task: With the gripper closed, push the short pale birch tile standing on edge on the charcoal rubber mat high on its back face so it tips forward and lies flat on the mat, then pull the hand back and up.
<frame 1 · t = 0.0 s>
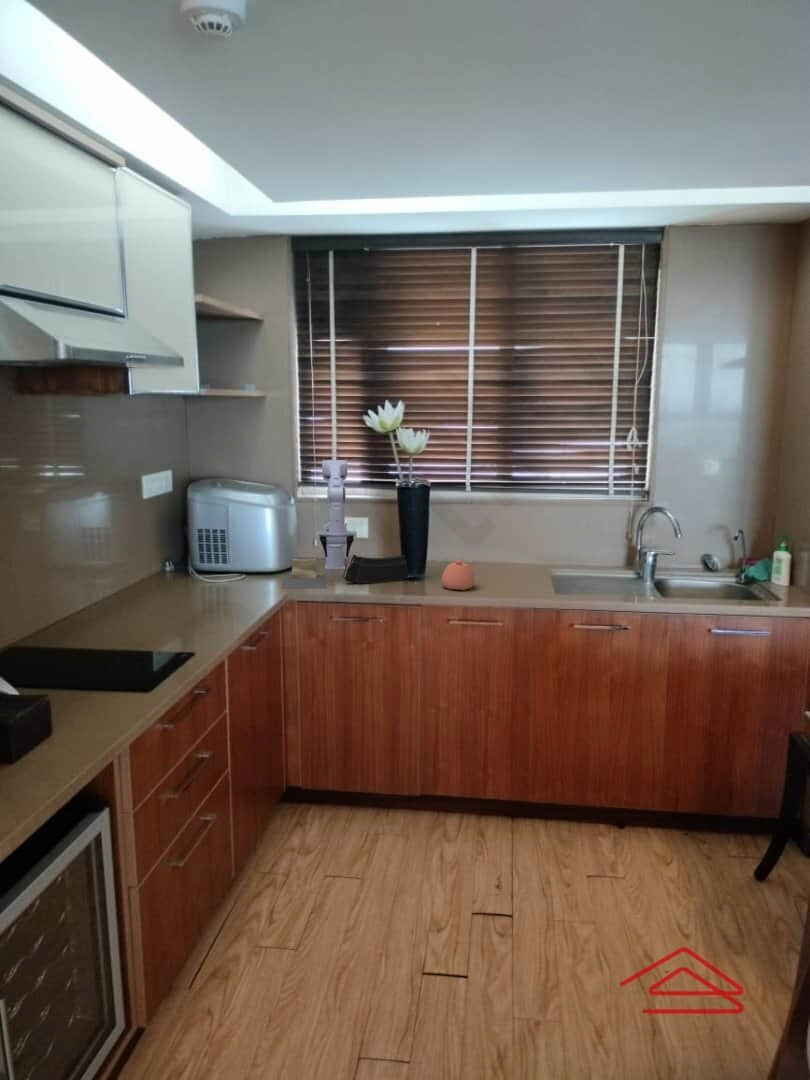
hand: (336, 556, 273), 10 cm above the worktop, tool pointing down, fingers open, 7 cm apart
sugar bowl: (458, 588, 272), on the worktop
magazine: (382, 582, 279), on the worktop
mat: (304, 582, 277), on the worktop
tile: (304, 577, 282), resting on mat
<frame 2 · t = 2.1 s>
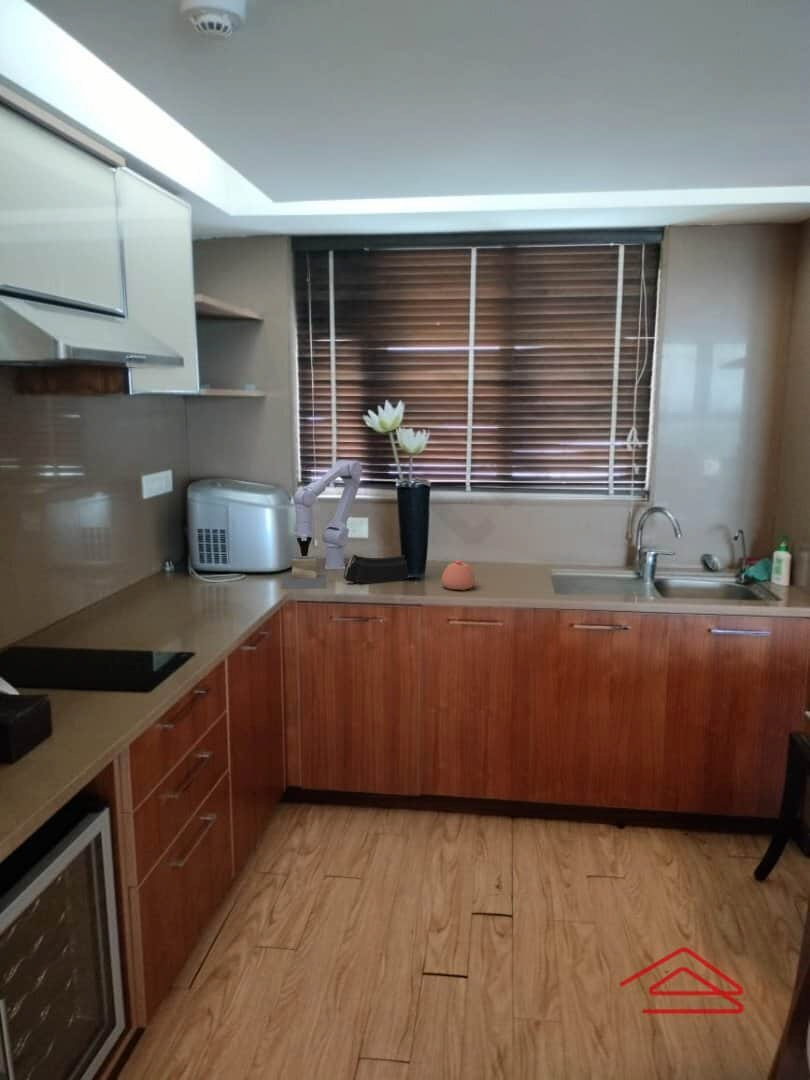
hand: (304, 556, 290), 7 cm above the worktop, tool pointing down, fingers closed
nothing on the worktop moved.
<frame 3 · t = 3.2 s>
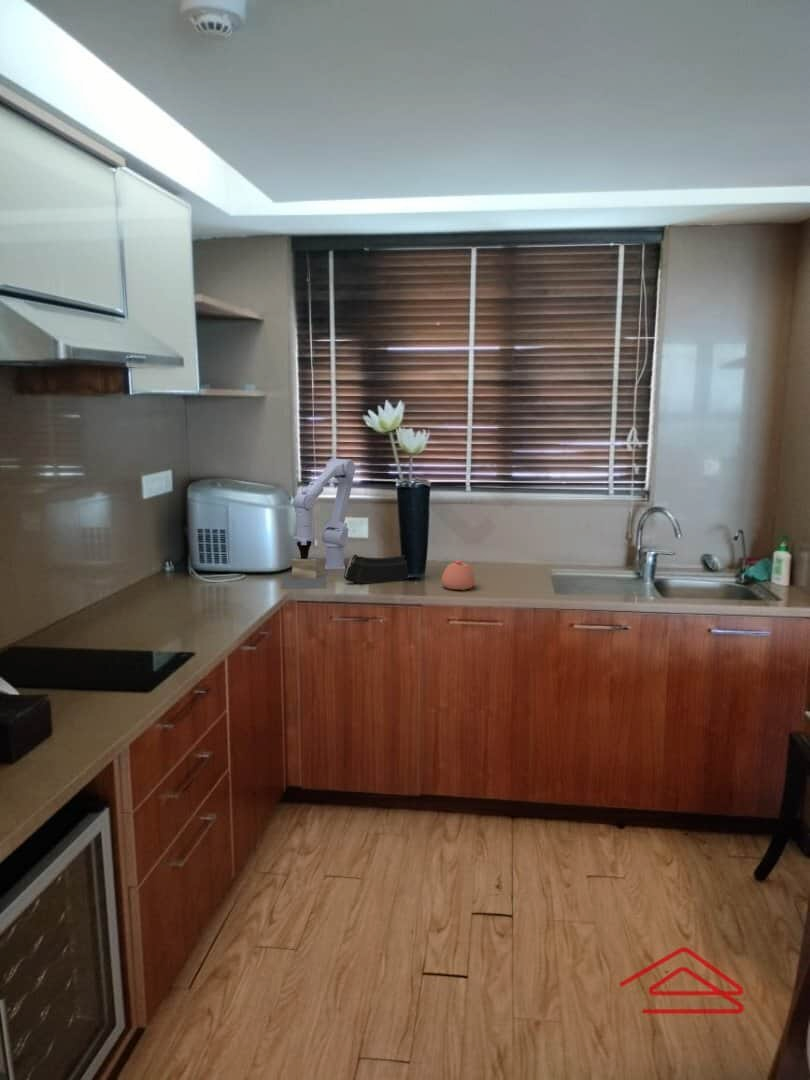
hand: (304, 560, 287), 6 cm above the worktop, tool pointing down, fingers closed
nothing on the worktop moved.
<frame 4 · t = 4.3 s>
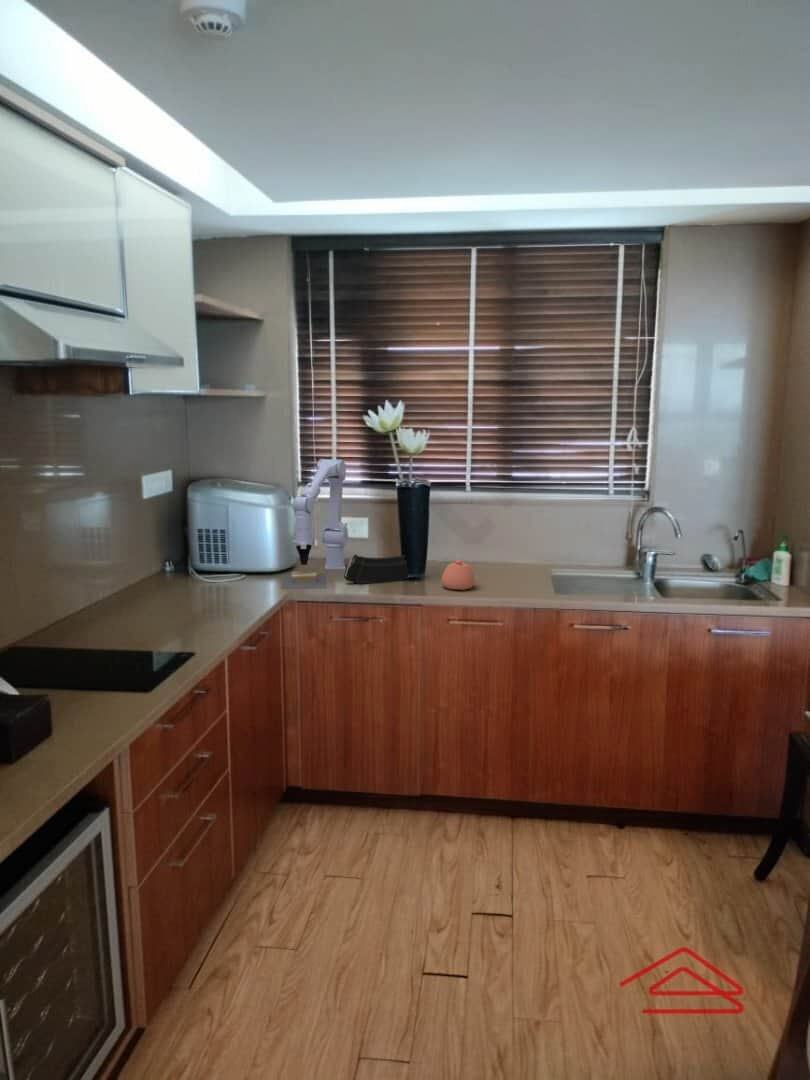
hand: (304, 564, 279), 6 cm above the worktop, tool pointing down, fingers closed
tile: (304, 575, 281), point 2 cm above the worktop, tilted 90°, touching mat
everything else where it was.
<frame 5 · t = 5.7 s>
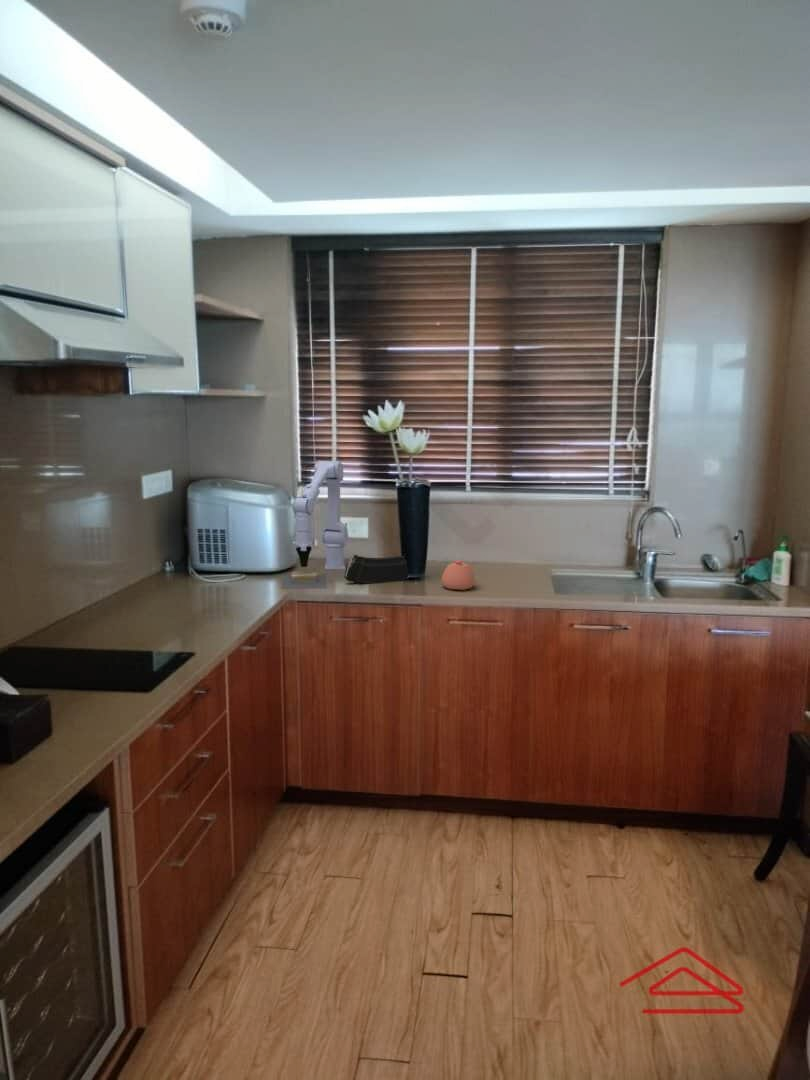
hand: (304, 566, 276), 6 cm above the worktop, tool pointing down, fingers closed
nothing on the worktop moved.
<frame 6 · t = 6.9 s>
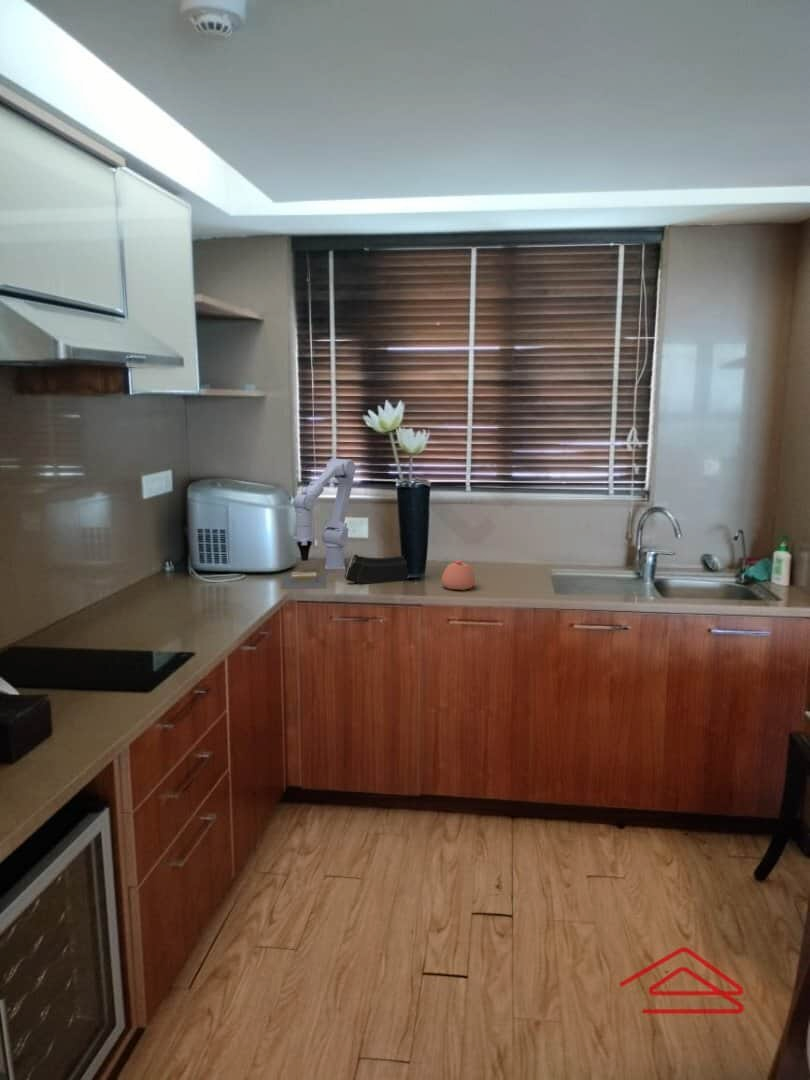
hand: (304, 560, 287), 6 cm above the worktop, tool pointing down, fingers closed
nothing on the worktop moved.
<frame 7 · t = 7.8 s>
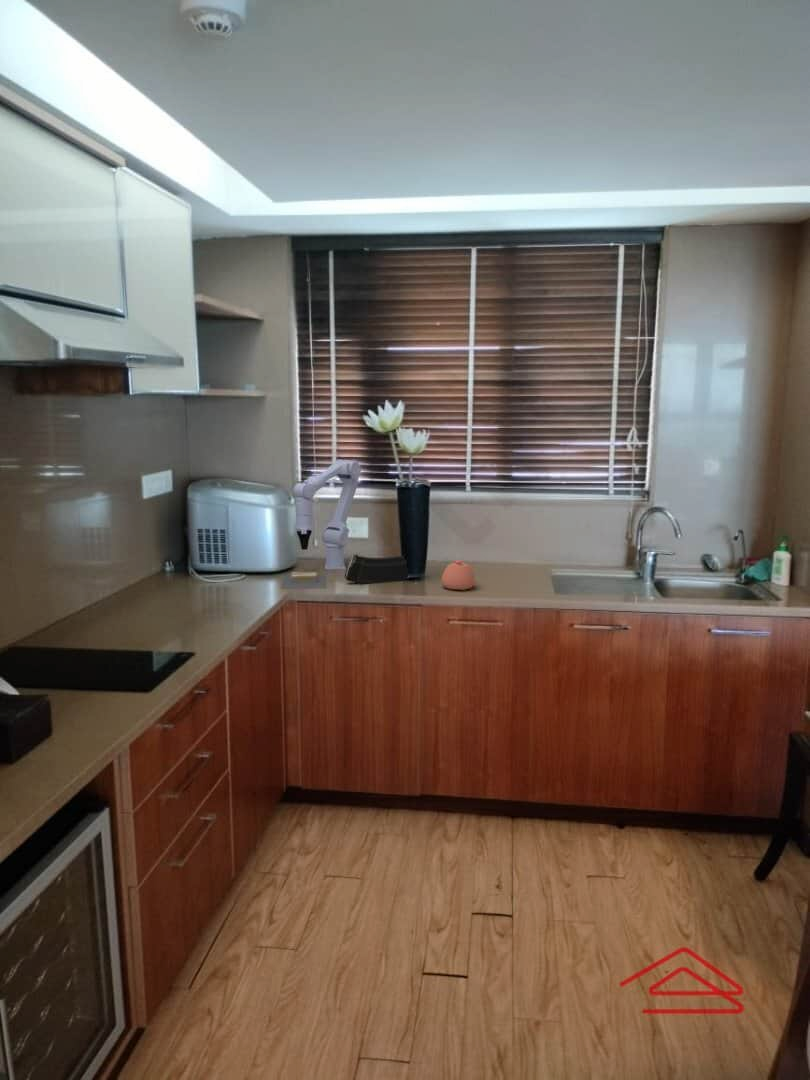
hand: (304, 549, 288), 10 cm above the worktop, tool pointing down, fingers closed
nothing on the worktop moved.
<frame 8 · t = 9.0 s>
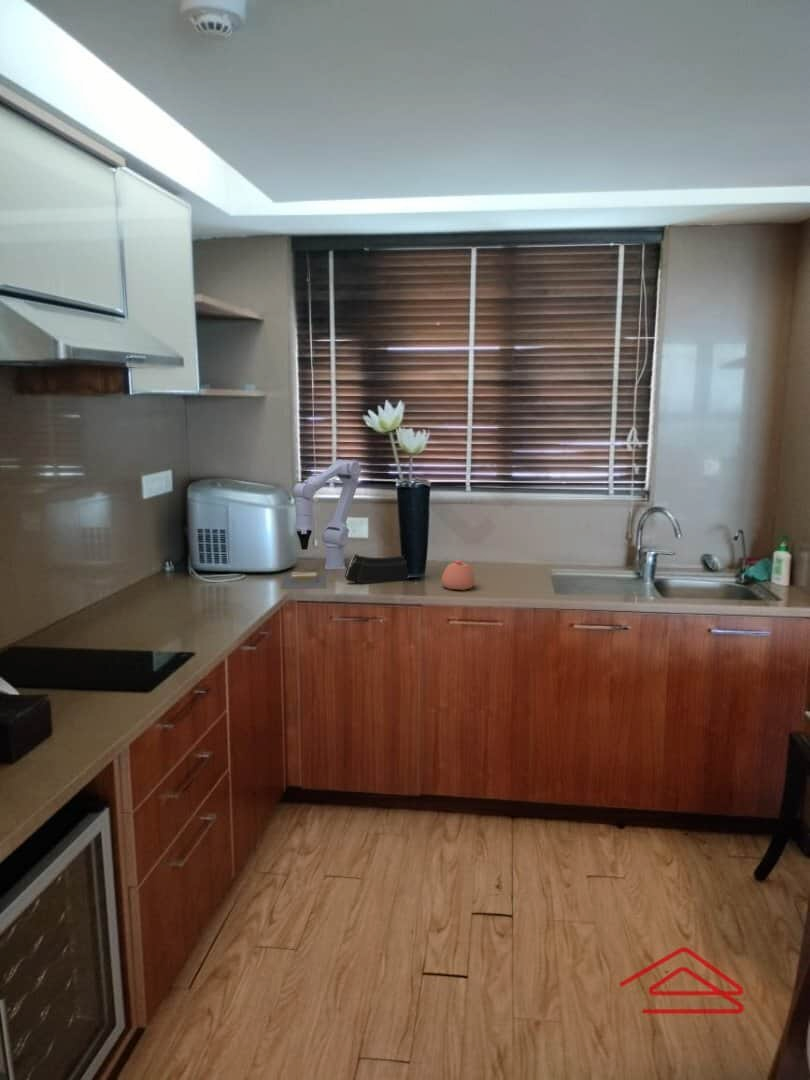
hand: (304, 549, 288), 10 cm above the worktop, tool pointing down, fingers closed
nothing on the worktop moved.
at the end: tile tilted 90°; tile touching mat; tile inside the target area (5.8 cm from its centre), point 1.5 cm above the worktop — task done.
